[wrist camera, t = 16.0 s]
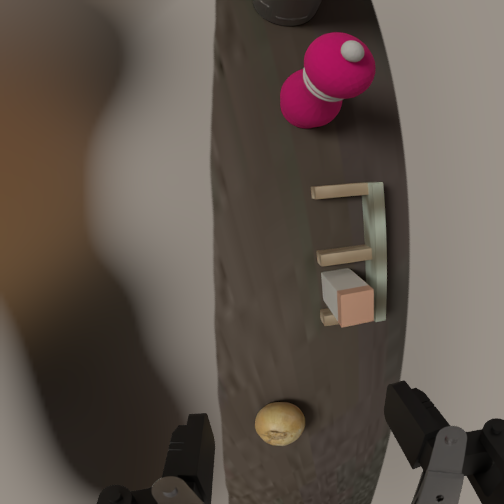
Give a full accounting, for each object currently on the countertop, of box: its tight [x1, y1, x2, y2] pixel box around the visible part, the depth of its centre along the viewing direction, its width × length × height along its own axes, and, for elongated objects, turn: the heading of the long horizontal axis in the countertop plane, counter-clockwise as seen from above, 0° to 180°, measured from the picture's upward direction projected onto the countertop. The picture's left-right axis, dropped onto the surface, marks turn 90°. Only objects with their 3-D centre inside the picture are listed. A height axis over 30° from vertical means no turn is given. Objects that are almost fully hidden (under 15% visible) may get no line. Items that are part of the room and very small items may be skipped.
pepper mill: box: [280, 32, 375, 128], centre depth 28 cm, size 7×7×20 cm
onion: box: [255, 402, 305, 446], centre depth 44 cm, size 8×8×7 cm
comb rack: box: [311, 182, 387, 326], centre depth 40 cm, size 18×8×4 cm, turn 7°
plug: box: [321, 268, 374, 327], centre depth 38 cm, size 4×4×9 cm
